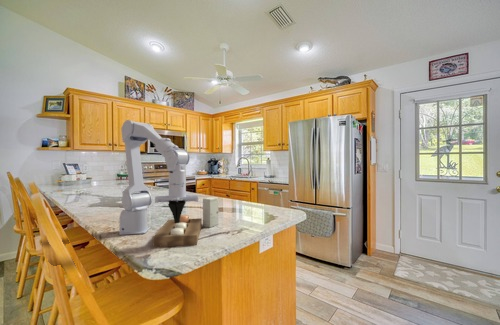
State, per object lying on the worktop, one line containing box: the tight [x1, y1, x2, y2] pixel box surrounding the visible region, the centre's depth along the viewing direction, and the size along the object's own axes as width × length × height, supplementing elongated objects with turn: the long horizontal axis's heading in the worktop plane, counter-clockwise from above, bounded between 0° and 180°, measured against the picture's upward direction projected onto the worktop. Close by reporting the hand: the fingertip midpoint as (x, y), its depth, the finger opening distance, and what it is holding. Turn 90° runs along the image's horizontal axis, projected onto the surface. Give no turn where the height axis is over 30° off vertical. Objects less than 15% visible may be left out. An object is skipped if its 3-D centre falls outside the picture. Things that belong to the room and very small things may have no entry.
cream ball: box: [175, 222, 187, 228], centre depth 83 cm, size 4×4×4 cm
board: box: [152, 217, 203, 248], centre depth 83 cm, size 14×22×3 cm, turn 9°
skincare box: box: [202, 196, 219, 228], centre depth 95 cm, size 6×4×12 cm
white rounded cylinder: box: [171, 228, 184, 235], centre depth 76 cm, size 4×4×4 cm
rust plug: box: [179, 214, 190, 223], centre depth 90 cm, size 4×4×4 cm
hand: (177, 222), depth 76 cm, fingers closed
